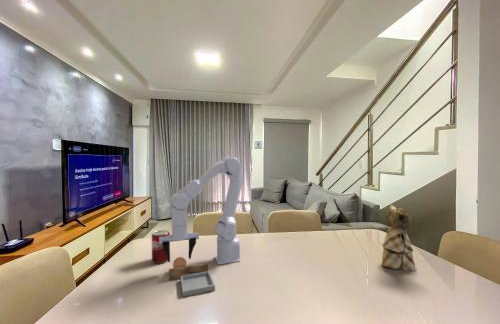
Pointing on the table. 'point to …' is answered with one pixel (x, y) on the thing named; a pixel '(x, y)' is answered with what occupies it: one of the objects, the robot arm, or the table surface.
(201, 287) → the dish
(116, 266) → the table surface
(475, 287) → the table surface
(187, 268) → the rail
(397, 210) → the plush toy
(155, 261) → the soda can
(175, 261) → the ball
